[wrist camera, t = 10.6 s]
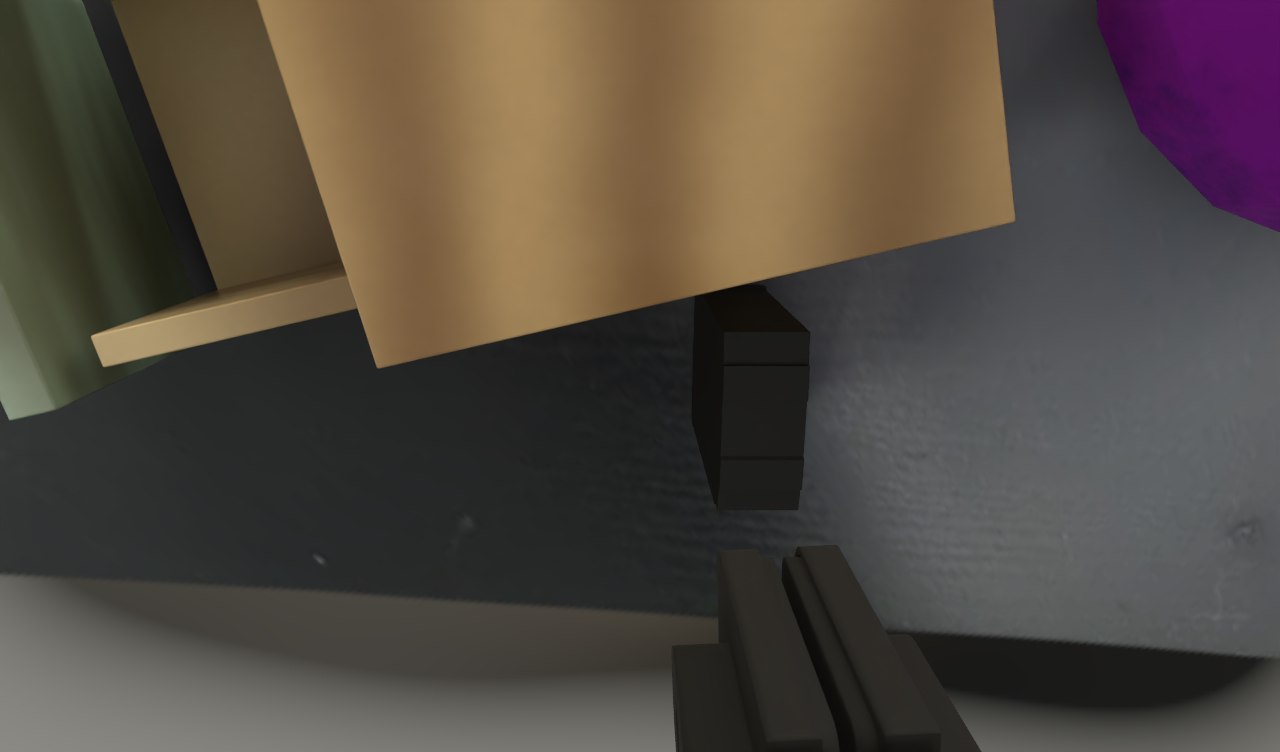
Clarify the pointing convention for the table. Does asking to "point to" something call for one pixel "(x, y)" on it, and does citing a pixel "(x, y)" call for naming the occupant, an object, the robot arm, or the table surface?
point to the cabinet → (630, 148)
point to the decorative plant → (1206, 92)
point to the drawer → (147, 196)
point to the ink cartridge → (750, 398)
